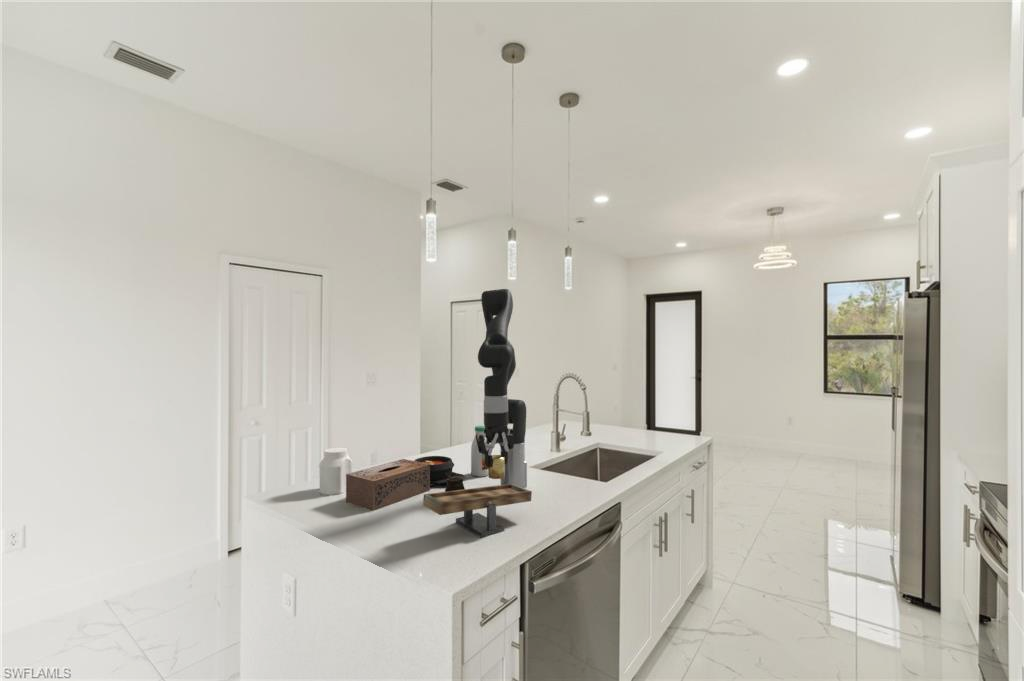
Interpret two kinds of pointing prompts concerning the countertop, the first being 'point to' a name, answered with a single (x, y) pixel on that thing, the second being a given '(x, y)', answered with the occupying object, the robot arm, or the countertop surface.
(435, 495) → the beam
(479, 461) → the milk bottle
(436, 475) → the casserole
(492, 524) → the pivot stand
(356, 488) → the tissue box cover
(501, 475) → the cylinder
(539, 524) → the countertop surface
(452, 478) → the mate gourd
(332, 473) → the jar
